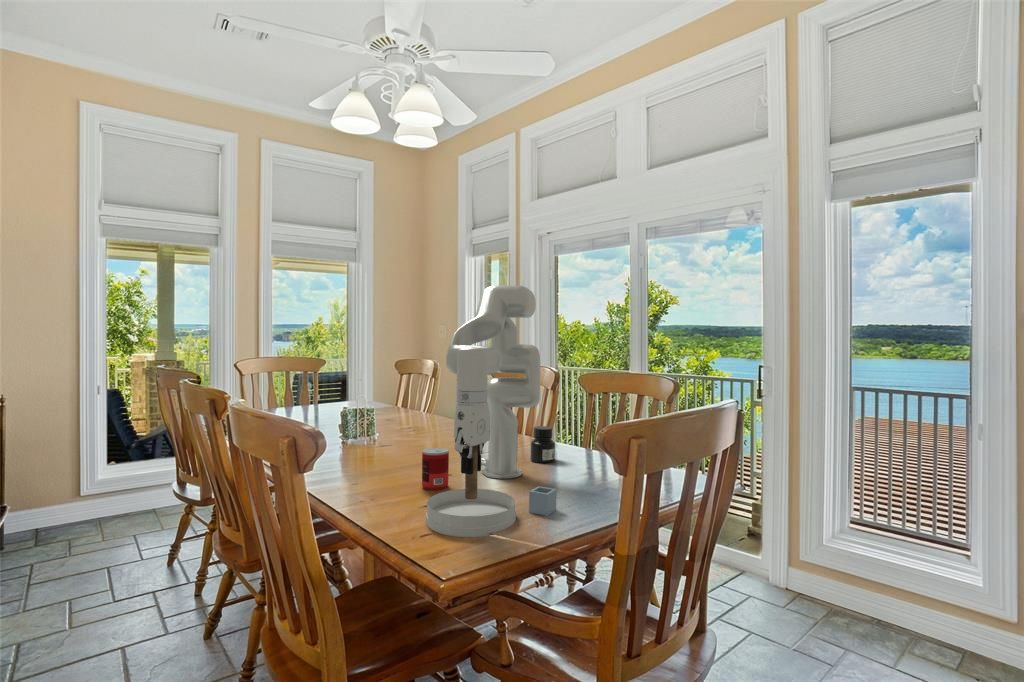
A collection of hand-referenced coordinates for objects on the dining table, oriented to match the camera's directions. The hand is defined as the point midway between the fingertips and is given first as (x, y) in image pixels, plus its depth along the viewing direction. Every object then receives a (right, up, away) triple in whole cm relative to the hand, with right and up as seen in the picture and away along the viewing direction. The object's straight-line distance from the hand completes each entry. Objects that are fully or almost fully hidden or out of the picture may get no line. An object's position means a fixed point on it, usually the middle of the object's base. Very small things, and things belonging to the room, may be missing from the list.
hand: (471, 471), depth 135 cm
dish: (0, -13, 0) cm, 13 cm away
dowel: (0, -6, 0) cm, 6 cm away
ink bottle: (+21, -12, +64) cm, 68 cm away
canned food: (-13, -12, +29) cm, 34 cm away
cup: (+18, -12, +6) cm, 23 cm away
